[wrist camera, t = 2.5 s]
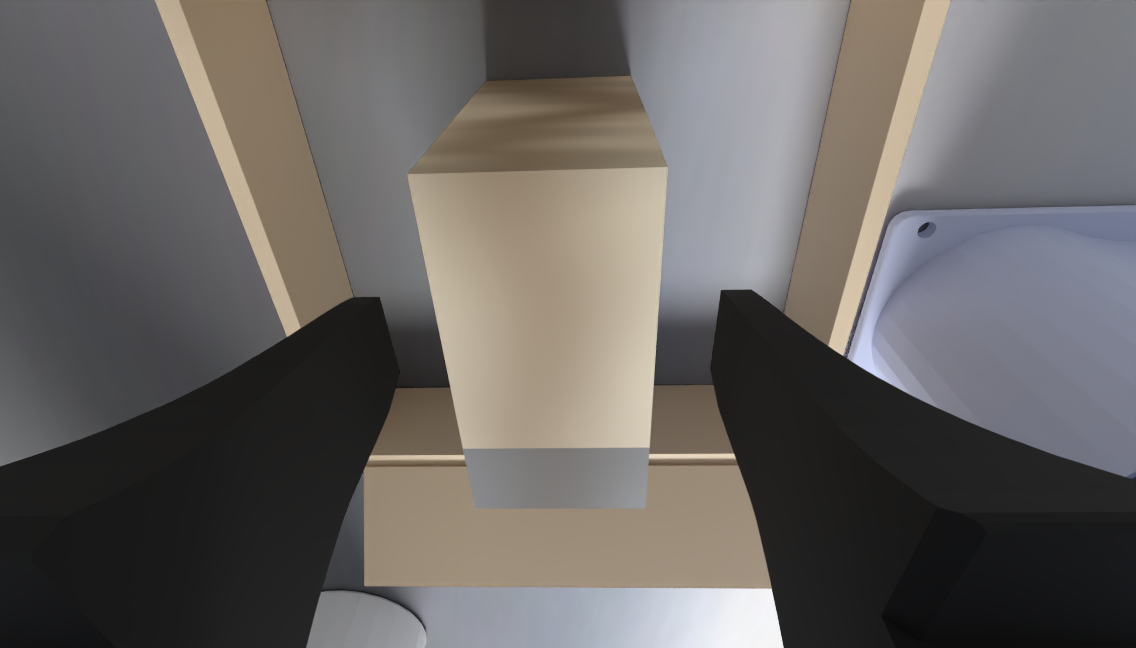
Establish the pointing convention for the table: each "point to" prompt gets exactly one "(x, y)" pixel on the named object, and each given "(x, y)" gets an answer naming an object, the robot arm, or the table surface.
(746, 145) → the table surface
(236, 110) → the carton
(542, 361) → the block
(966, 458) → the robot arm
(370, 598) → the vase
